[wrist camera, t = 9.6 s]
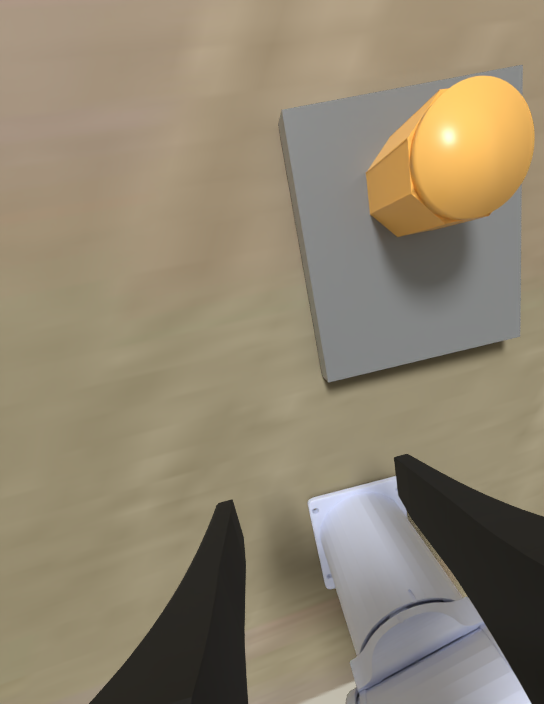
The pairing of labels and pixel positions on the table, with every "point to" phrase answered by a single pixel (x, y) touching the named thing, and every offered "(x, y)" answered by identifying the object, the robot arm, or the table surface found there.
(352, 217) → the plate
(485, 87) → the orange acorn nut
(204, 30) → the table surface
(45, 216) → the table surface
